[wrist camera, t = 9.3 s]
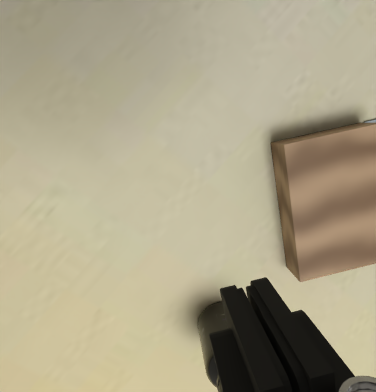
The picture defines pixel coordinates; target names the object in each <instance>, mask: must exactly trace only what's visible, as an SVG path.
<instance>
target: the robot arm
mask: <svg viewBox="0 0 376 392" xmlns="http://www.w3.org/2000/svg"><path fill="white" fill-rule="evenodd" d="M246 291H247V296H246V294H245V292H244V290H243V289H242V288H239V289H237V288H236V286H235V285H233V286H229V287H225V288H221V289H220V293H221V298H222V303H223V308H224V312H225V317H226V322H227V327H228V329H225V330H221V331H217V332H213V333H209V336H210V341H211V345H212V350H213V354H214V358H215V362H216V367H217V371H218V375H219V379H220V383H221V388H222V392H376V378H374V377H370V376H356V377H355V376H354V374H353V373H352V372H351V371H350V369H349V368H348V367H347V366H346V364H345V363H344V362H343V360H342V359H341V358H340V357H339V355H338V354H337V353H336V352H335V350H334V349H333V348H332V346H331V345H330V344H329V343H328V341H327V340H326V339H325V338H324V336H323V335H322V334H321V332H320V331H319V330H318V329H317V327H316V326H315V325H314V323H313V322H312V321H311V320H310V318H309V317H308V316H307V315H306V313H305V312H304V311H302V310H299V311H295V312H291V311H290V310H289V308H288V307H287V305H286V304H285V303H284V301H283V300H282V298H281V297H280V296H279V294H278V293H277V291H276V290H275V289H274V287H273V286H272V284H271V283H270V282H269V280H268V279H267V278H266V277H265V278H261V279H257V280H253V281H251V286H247V287H246ZM247 297H248V298H247Z"/></svg>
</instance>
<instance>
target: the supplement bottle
mask: <svg viewBox="0 0 376 392" xmlns="http://www.w3.org/2000/svg"><path fill="white" fill-rule="evenodd" d="M198 329H199V335H200V341H201V347H202V352H203V358H204V364H205V369H206V374H207V376H208V379H209V380H210V382H211V383H212V384H213V385H214V386H215V387H217V389H218V392H222V388H221V383H220V379H219V375H218V371H217V367H216V362H215V358H214V354H213V350H212V345H211V341H210V336H209V333H213V332H217V331H221V330H225V329H228V327H227V322H226V317H225V312H224V308H223V303H222V302H219V303H215V304H212V305H210V306H208V307H207V308H206V309H205V310H204V311H203V312H202V314H201V315H200V317H199V321H198Z"/></svg>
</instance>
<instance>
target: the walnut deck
mask: <svg viewBox="0 0 376 392" xmlns="http://www.w3.org/2000/svg"><path fill="white" fill-rule="evenodd" d="M271 149H272V157H273V165H274V172H275V180H276V188H277V196H278V203H279V211H280V219H281V226H282V234H283V242H284V250H285V257H286V265H287V268H288V269H289V270H290V271H291V272H292V274H293V275H294V276H295V277H296V278H297V279H298V280H299V281H300V282H303V281H307V280H311V279H315V278H319V277H323V276H327V275H331V274H335V273H339V272H343V271H347V270H351V269H355V268H359V267H363V266H367V265H371V264H375V263H376V123H357V124H352V125H348V126H343V127H339V128H334V129H330V130H325V131H321V132H316V133H312V134H307V135H303V136H298V137H294V138H289V139H285V140H280V141H276V142H271Z"/></svg>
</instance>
